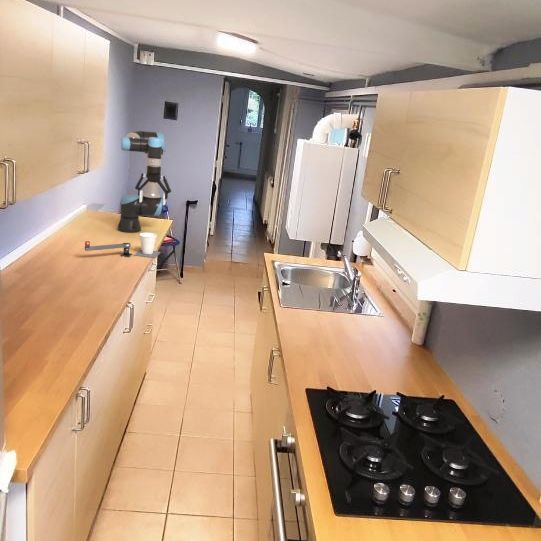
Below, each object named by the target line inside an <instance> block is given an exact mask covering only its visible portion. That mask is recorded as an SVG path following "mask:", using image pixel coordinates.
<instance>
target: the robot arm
mask: <svg viewBox="0 0 541 541" xmlns="http://www.w3.org/2000/svg"><path fill="white" fill-rule="evenodd" d="M165 142H166V140H165V134H164V133H162V132H158V131H146V130H145V131H142V130H135V131H130V132H129V133H127V134H126V136H122V137H121V142H120V143H121V145H120V147H121V148H120V149H121V150H122V151H125V152H139V153H144V154H145V156H146V169H145V170H146V172H141V175H140V178H139V179H138V182H137V183H136V185H135V188H134V189H135V190H137V194H134V193H133V194H126V195H123V196H122V197H121V199H120V200H121V201H120V219H119V222H118V224H117V230H118V231H119V232H121V233H131V234H132V233H139V232H141V231H142V225H141V223H140V218H139V217H140V216H148V217H149V216H150V217H159V216H160V215H161V213H162V209H163V206H165V205H166V204H167V203H166V200H168V198H169V195H168V194H170V193H171V192H172V190H171V187H170V184H169V182H168V179H167V175H161V171H162V168H161V166H162V156H163V155H164V153H165V152H166V143H165ZM144 179H145V181H144V182H143V180H144ZM161 180H162V181H163V183H164V184H163V183H162V181H161ZM142 182H143V183H142ZM144 187H145V193H144V192H143V190H142V189H143V188H144ZM160 188H161V189H162V191H163V192H164V193H163V195H162V196H163V197H162V196H161V195H160V193H159V192H160V190H159V189H160Z"/></svg>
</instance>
